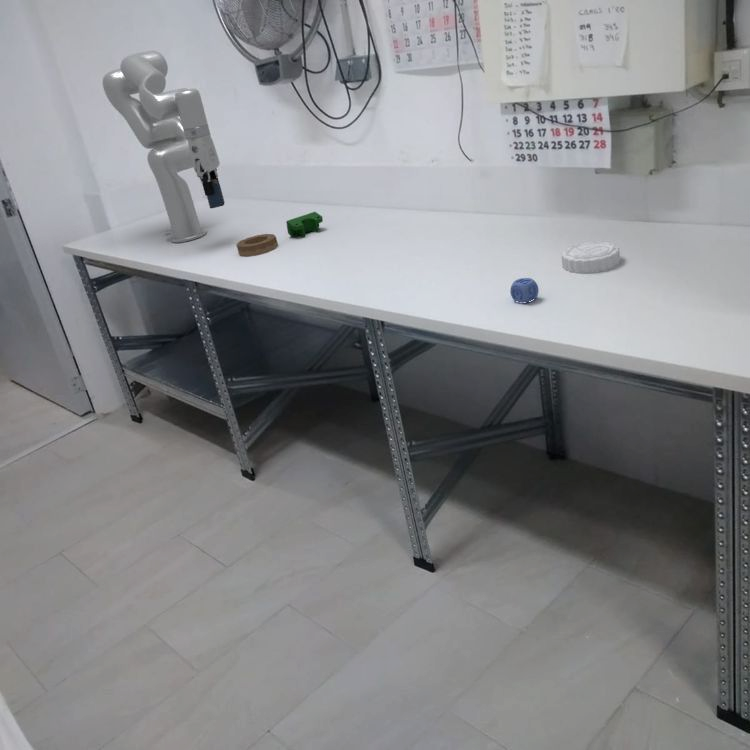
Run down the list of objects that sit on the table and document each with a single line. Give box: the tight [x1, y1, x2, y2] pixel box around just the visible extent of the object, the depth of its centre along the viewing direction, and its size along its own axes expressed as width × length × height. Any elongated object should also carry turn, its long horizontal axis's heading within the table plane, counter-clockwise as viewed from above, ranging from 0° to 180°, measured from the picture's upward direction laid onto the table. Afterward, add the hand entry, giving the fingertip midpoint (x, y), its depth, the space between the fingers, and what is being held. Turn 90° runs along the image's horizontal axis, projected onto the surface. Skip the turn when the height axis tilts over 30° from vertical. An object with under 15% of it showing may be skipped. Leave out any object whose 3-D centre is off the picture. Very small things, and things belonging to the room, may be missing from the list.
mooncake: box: [561, 241, 621, 274], centre depth 158 cm, size 12×12×4 cm
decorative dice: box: [510, 277, 540, 302], centre depth 147 cm, size 4×4×4 cm
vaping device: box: [202, 170, 225, 209], centre depth 230 cm, size 3×5×12 cm, turn 111°
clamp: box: [285, 211, 324, 238], centre depth 230 cm, size 11×6×8 cm, turn 117°
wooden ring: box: [236, 233, 279, 257], centre depth 224 cm, size 12×12×3 cm
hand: (213, 192), depth 231 cm, fingers closed on vaping device, 4 cm apart
